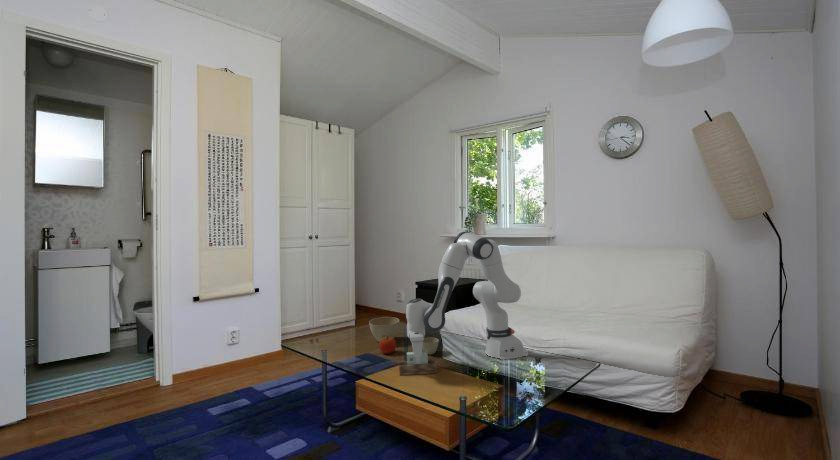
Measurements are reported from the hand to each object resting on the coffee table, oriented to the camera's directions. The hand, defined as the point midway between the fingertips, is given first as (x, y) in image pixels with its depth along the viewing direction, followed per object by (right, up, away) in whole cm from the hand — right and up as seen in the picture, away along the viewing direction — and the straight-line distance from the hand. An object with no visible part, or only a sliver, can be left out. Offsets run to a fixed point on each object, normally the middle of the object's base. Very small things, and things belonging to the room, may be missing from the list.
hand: (417, 359), depth 217 cm
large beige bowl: (-20, -3, +49) cm, 53 cm away
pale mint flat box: (0, -5, 0) cm, 5 cm away
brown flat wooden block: (0, -6, 0) cm, 6 cm away
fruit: (-16, -5, +28) cm, 33 cm away
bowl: (+7, -4, +25) cm, 26 cm away
